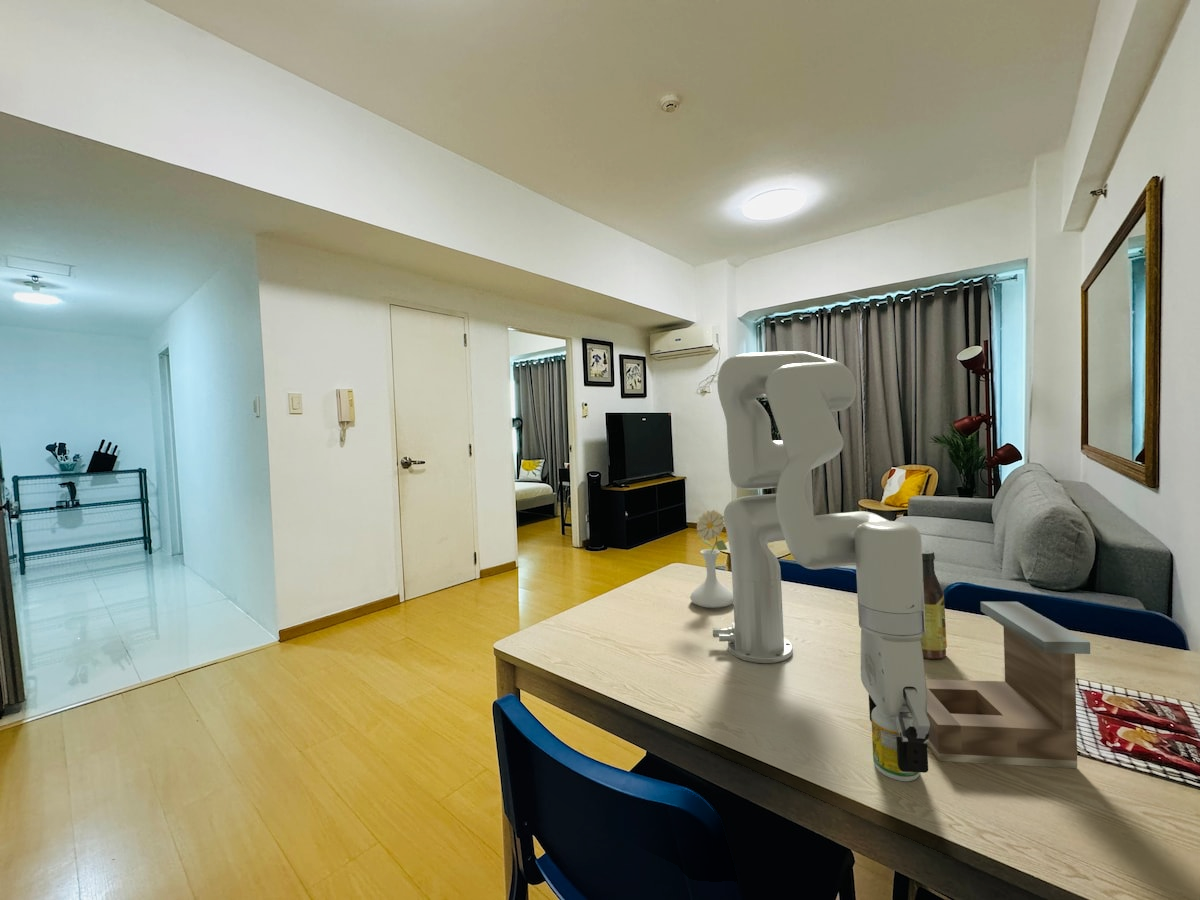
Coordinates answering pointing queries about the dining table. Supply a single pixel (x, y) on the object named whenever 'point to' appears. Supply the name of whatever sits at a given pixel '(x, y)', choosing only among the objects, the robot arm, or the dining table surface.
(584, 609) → the dining table surface
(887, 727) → the supplement bottle
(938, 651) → the sauce bottle
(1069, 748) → the socket block
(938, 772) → the dining table surface
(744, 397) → the robot arm
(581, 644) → the dining table surface
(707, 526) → the flower in vase
